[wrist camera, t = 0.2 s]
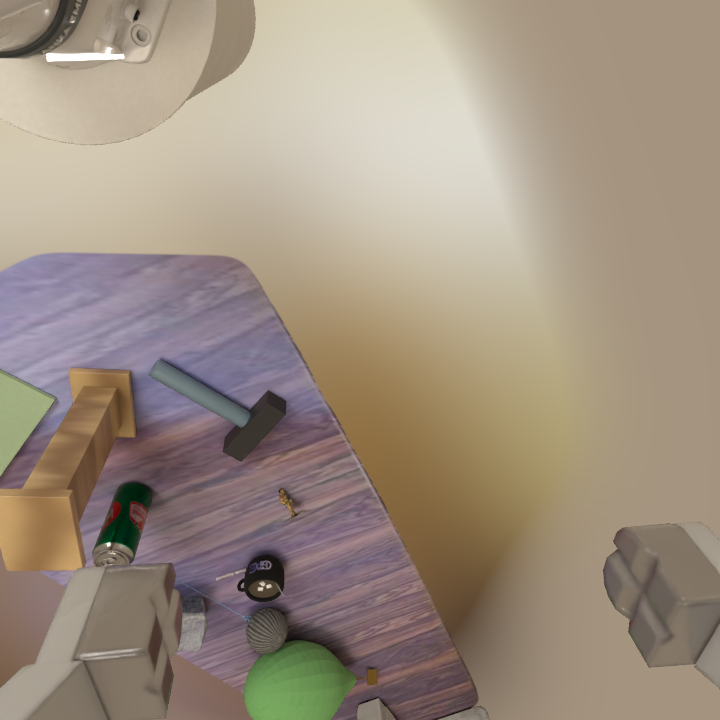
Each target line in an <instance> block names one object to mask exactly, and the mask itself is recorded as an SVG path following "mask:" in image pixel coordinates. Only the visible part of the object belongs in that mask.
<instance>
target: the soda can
mask: <svg viewBox="0 0 720 720" xmlns="http://www.w3.org/2000/svg"><path fill="white" fill-rule="evenodd" d="M151 501H152V494H151V492H150V491H149V490H148V488H146V487H145V486H143V485H141V484H138V483H129V484H125V485H123V486H121V487H119V488H118V489H117V491H116V493H115V495H114V498H113V500H112V503H111V506H110V508H109V511H108V513H107V516H106V518H105V521H104V524H103V526H102V529H101V531H100V534H99V537H98V539H97V542H96V544H95V547H94V549H93V563H94V565H95V567H100V566H116V565H129V564H131V563H132V562H133V560H134V557H135V554H136V551H137V548H138V544H139V541H140V538H141V534H142V531H143V528H144V524H145V521H146V518H147V515H148V511H149V508H150V505H151Z"/></svg>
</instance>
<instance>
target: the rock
mask: <svg viewBox="0 0 720 720" xmlns="http://www.w3.org/2000/svg"><path fill="white" fill-rule="evenodd" d="M181 600H182V612H183V617H182V633H181V639H180V645H179V649H178V651H197V650H199V649H200V648H201V645H202V642H203V640H204V638H205V634H206V630H207V618H206V613H205V603H204V601H203V599H202V597H183V598H181ZM178 651H177V652H178Z"/></svg>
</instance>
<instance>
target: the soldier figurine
mask: <svg viewBox="0 0 720 720" xmlns="http://www.w3.org/2000/svg"><path fill="white" fill-rule="evenodd" d="M279 493H280V494H279V495H280V496H279V497H280V502H281V503H282V504H284V505H285V506H286V508H287V507H288V508H289V509H290V513H291V515H292V517H290V518H289V519H287V520H286V522H287V521H289V520H290V519H292V518H294V517H295V516H297V515H299V514H300V513H301V512H302V511H303V510H302V511H300V512H298V513H295V512H294V509H293V507H292V505H293V503H294V502H293V501H292V500H291V499H290V498H289V497H288V498H287V496H288V495H287V494H286V493H285V492H284V490H283V489H281V490H279ZM289 499H290V500H289ZM282 500H283V501H284V502H285V503H284V502H283V501H282ZM302 506H303V505H302ZM299 508H300V507H299ZM302 508H303V507H302ZM304 511H305V510H304ZM292 512H293V513H294V515H293V513H292ZM290 513H289V514H290ZM283 520H284V519H283ZM279 522H280V521H279Z"/></svg>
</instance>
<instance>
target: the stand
mask: <svg viewBox="0 0 720 720" xmlns="http://www.w3.org/2000/svg"><path fill="white" fill-rule="evenodd" d="M69 378H70V384H71V390H72V396H73V402H74V403H73V404H72V406H71V408H70V409H69V411H68V413H67V414H66V416H65V418H64V420H63V421H62V423H61V425H60V426H59V428H58V430H57V431H56V433H55V435H54V436H53V438H52V440H51V441H50V443H49V445H48V446H47V448H46V450H45V451H44V453H43V455H42V456H41V458H40V460H39V461H38V463H37V465H36V466H35V468H34V470H33V471H32V473H31V475H30V476H29V478H28V480H27V481H26V483H25V485H24V486H23V488H22V489H0V548H1V551H2V555H3V558H4V562H5V565H6V568H7V571H49V570H77V569H78V568H84V567H85V564H86V559H85V553H84V548H83V543H82V537H81V532H80V526H79V522H80V519H81V517H82V515H83V512H84V510H85V508H86V506H87V503H88V501H89V499H90V496H91V494H92V492H93V490H94V487H95V485H96V483H97V480H98V478H99V476H100V474H101V471H102V469H103V467H104V464H105V462H106V460H107V458H108V455H109V453H110V451H111V448H112V446H113V444H114V442H115V439H116V437H133V438H134V437H135V436H136V433H137V432H136V422H135V412H134V402H133V392H132V382H131V372H130V371H129V370H108V369H87V368H71V369H70V370H69Z"/></svg>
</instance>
